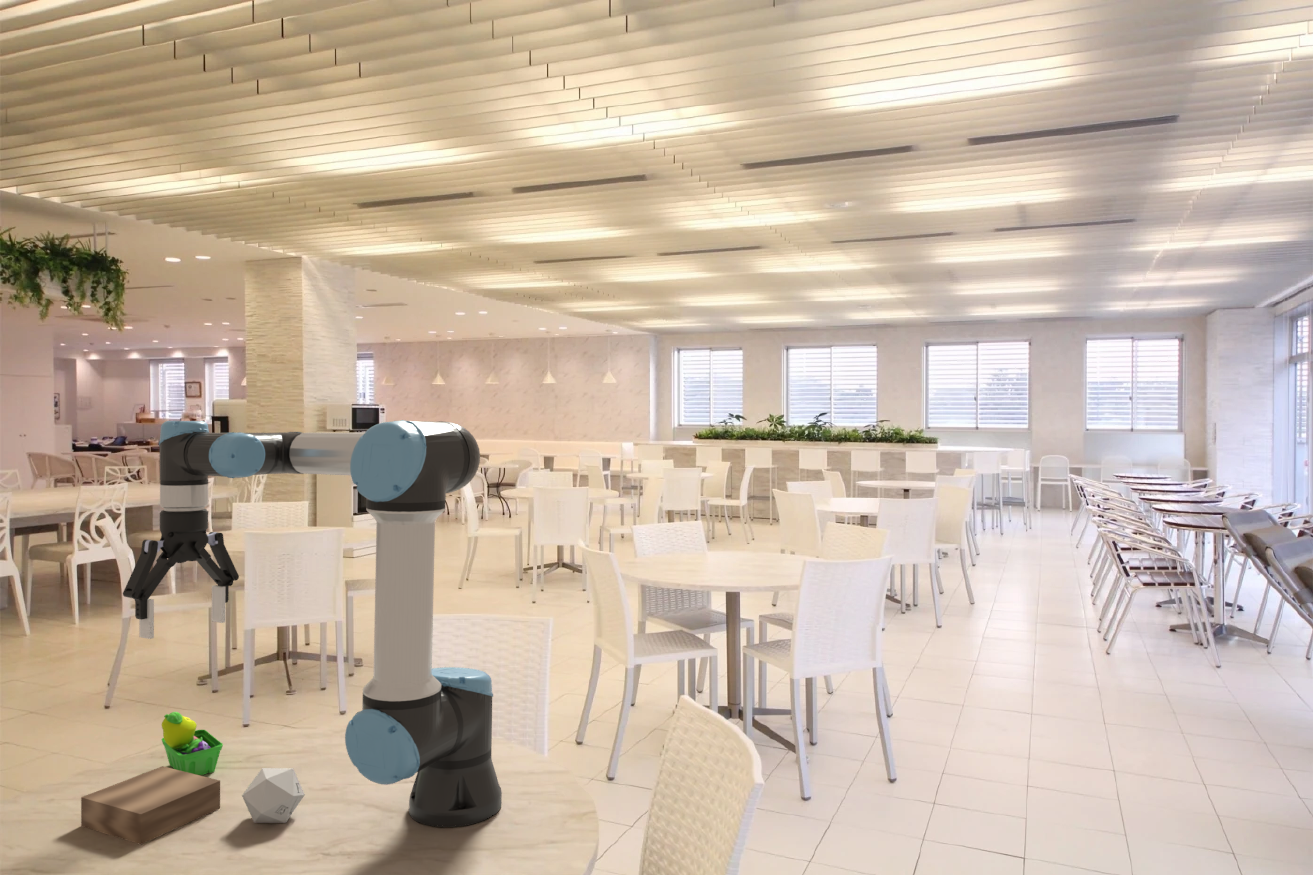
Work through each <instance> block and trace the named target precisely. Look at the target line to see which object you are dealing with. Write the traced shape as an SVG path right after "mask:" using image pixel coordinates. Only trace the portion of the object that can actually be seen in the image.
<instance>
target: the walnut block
mask: <svg viewBox="0 0 1313 875" xmlns="http://www.w3.org/2000/svg"><path fill="white" fill-rule="evenodd" d="M80 804H81V805H80V808H81V810H80V814H81V815H80V816H81V818H80V823H81V824H80V826H81V827H83V828H86V829H89V830H93V831H96V832H100V833H102V834H106V835H109V836H112V837H114V838H118V839H121V840H124V841H125V840H126V841H129V842H132V843H134V844H138V845H143V844H145V843H147V842H150V841H151V840H154V839H156V838H158V837H160V836H162V835H165V834H167V833H170V832H171V831H174V830H176V829H178V828H181V827H183V826H184V825H186V824H188V823H191V822H193V821H195V820H197V819H199V818H202V817H204V816H206V815H208V814H211V813H213V812H216V811H217V810H219V809H221V780H219V779H215V778H212V777H207V776H203V775H196V774H192V773H188V772H184V771H180V770H176V769H174V768H173V767H169V766H164V765H163V766H160V767H157V768H154V769H152V770H149V771H146V772H144V773H142V774H138V775H136V776H133V777H131V778H128V779H125V780H123V781H120V782H118V783H115V784H112V785H110V786H107V787H105V788H101V789H98V790H97V791H94V792H92V793H91V792H90V793H88V794H87V795H84V796H81V798H80Z"/></svg>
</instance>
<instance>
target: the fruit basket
mask: <svg viewBox="0 0 1313 875" xmlns="http://www.w3.org/2000/svg"><path fill="white" fill-rule="evenodd" d="M197 725H198V724H197V722H196V721H194V720H193V719H191V718H190V717H187V716H184V715H182V714H181V713H180V712H178V711H172V712H170V713H169V714H168V713H166V714H164V719H163V720H162V722H161V729H162V734H163V737H162V738H161V742H162V744H163V746H164V749H165V753H166V756H167V760H168V761H167V762H168V763H169V764H168V765H169V766H170V768H172V769H176V770H180V771H184V772H188V773H192V774H196V775H200V776H203V775H207V774H209V773H211V774H212V773H214V772H215V771H216V768H217V763H218V760H219V758H220V757H219V756H220V754H221V751H222V749H223V745H224V744H223V742H221V741H220V740H218V739H217V738H216V737H215V736H214V735H212V734H211V733H210V732H208V730H206V729H197V727H198V726H197Z"/></svg>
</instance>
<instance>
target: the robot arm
mask: <svg viewBox="0 0 1313 875" xmlns="http://www.w3.org/2000/svg"><path fill="white" fill-rule="evenodd" d="M209 430H210V429H209V424H208V423H207V422H206V421H203V420H200V421H199V420H165V421H164V422H162V424H161V426H160V436H159V442H158V447H159V448H158V449H159V507H160V508H162V509H163V510H161V511H160V512H159V531H160V533H161V536H160V539H159V540H151V539H144V540H143V541H142V542H141V543H142V544H141V551H140V555H139V556H138V558H137V562H136V564H135V565H134V567H133V570H132V572H131V575H130V576H129V579H128V581H127V583H126V586H125V587H124V590H123V592H122V596H123V597H125V598H129V599H133V600H134V606H135V608H134V611H135V618H136V620H139V622H138V624H139V625H138V626H139V627H138V628H139V631H138V632H139V634H138V635H139V638H143V639H147V640H148V639H149V640H151V639H154V638H155V631H154V630H155V599H152V598H150V597H151V596H152V595H153V593H154V591H155V590H156V588H158V586H159V585H160V584H161V582H162V580H163V579H164V578H165V577H166V575H167V574H168V572H169V570H170V569H171V568H172V567H174V566H175V565H176V564H184V563H186V562H195V561H196V562H197V563H198V564H199V565H200V567H201V568H202V569H203V570H204V571H205V572H206V574H208V576H209V577H210V578H211V579H212V581H213V582H214V583H216V584H215V585H211V622H214V623H221V624H222V623H223V624H224V623H226V604H227V603H228V602H229V598H230V597H229V588H230V587H232V585H233V584H234V581H238V579H239V578H240V577H239V576H240V575H239V573H238V571H237V568H236V567H235V565H234V562H233V561H232V559H231V555H230V554H229V552H228V550H227V547H226V546H225V542H224V541H225V540H224V534H223V533H222V532H219V531H218V532H217V531H211V532H209V533H208V534H207V530H208V528H209V510H208V509H207V508H206V507H208V505H209V477H223V478H228V479H236V478H237V479H238V478H249V477H251V476H258V475H259V476H260V475H269V474H270V475H276V474H279V475H280V474H281V475H282V474H291V475H293V474H294V475H307V474H308V475H329V476H331V475H332V476H333V475H334V476H350V478H351V481H352V483H353V484H354V485H355V486H356V490H357V492H358V493H359V494H360V495H361V496H362V497H364V498H366V503H365V504H366V506H365V508H366V511H367V512H368V513H369V515H370V516H371V517H373V518H374V520H375V521H376V529H375V530H376V534H375V535H376V538H375V540H376V541H375V583H374V584H375V586H374V587H375V588H374V590H375V591H374V631H373V632H374V634H373V635H374V637H373V638H374V639H373V642H374V643H373V676H372V678H371V679H370V680H369V681H368V682H367V683H366V684H365V685H364V687H363V688H362V706H361V708H362V709H361V710H360V711H358V712H356V713H355V714H354V715H353V717H352V719H351V720H349V721H348V723H347V725H346V727H345V733H344V735H345V736H344V741H345V742H344V743H345V749H346V752H347V755H348V757H349V759H350V761H351V764H352V765H353V766H354V767H355V768H356V769H357V771H358V772H359V773H360V774H361V776H363V777H364V778H366V779H367V780H368V781H370V782H373V783H375V784H378V785H385V786H386V785H393V784H396V783H398V782H401V781H403V780H407V779H410V778H413V776H415V779H414V782H413V786H412V789H411V791H410V794H409V800H408V812H409V813H408V814H409V816H410V818H412V819H413V820H414V821H415V822H418V823H419V824H423V825H425V826H430V827H437V828H454V827H456V828H457V827H464V826H468V825H469V826H470V825H474V824H477V823H480V822H484V821H485V820H487V818H488V819H490V818H491V817H493V816H494V815H496V814H497V813H498V812H499V811H500V810H501V807H502V805H503V804H502V802H503V801H502V793H503V792H502V787H501V785H500V783H499V780H498V776H497V772H496V770H495V769H496V768H495V766H494V764H493V763H494V762H493V759H492V745H493V744H492V740H493V738H492V735H493V697H494V693H493V684H492V677H491V676H490V675H489V673H487V672H486V671H483V670H480V669H476V668H468V667H457V666H455V667H453V666H449V667H446V666H445V667H434V668H433V633H434V632H433V630H434V629H433V626H434V623H433V621H434V589H435V587H434V585H435V584H434V583H435V582H434V581H435V580H434V579H435V574H434V573H435V538H436V537H435V536H436V535H435V533H436V521H437V519H438V518H439V517H440V516H441V515H442V514H443V513H444V512H445V511H446V499H447V498H446V496H447V495H446V494H449V493H454V492H457V491H458V490H461V489H463V488H465V487H467V485H468V484H469V483H470V482H471V481H472V480H473V479H474V478H475V477H476V474H477V472H478V470H479V466H480V463H481V453H480V448H479V445H478V442H477V439H476V438H475V436H474V435H473V434H472V433H471V432H470V431H469V430H468V429H466V428H465V427H464V426H462V425H460V424H457V423H454V422H450V421H442V420H440V421H430V420H429V421H427V420H424V421H423V420H422V421H421V420H406V419H405V420H404V419H401V420H393V421H385V422H380V423H377V424H375V425H373V426H371V427H369V428H368V429H367V430H366V431H365V432H301V431H287V432H240V431H239V432H234V431H233V432H210V431H209ZM207 545H208V546H209V547H210V551H211V552H212V554H213V556H214V559H215V560H216V562H215V560H214V559H212V556H211V554H210V552H208V551H207V549H206V546H207ZM160 551H162V552H161V554H160V555H159V556H158V557H157V554H158V553H159V552H160ZM156 558H157V559H156ZM155 560H156V563H155V564H154V562H155ZM153 565H154V566H153ZM415 774H416V775H415ZM492 815H493V816H492ZM490 816H491V817H490ZM489 817H490V818H489Z"/></svg>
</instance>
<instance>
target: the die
mask: <svg viewBox="0 0 1313 875" xmlns="http://www.w3.org/2000/svg"><path fill="white" fill-rule="evenodd" d="M305 795H306V794H305V792H304V789H303V788H302V785H301V783H300V780H299V778H298V776H297V774H296V771H295V769H294V768H293V767H291V768H290V767H288V768H287V767H282V768H281V767H261V769H260V770H259V772H258V773H257V775H255V777H254V778H253V780H252V781H251V782H250V784H249V785H248V787H247V788H246V789H245V790H244V792H243V793H242V795H241V796H242V799H243V801H244V803H245V806H246V808H247V810H248V813H249V814H250V817H251V819H252V822H253V823H255V824H256V823H261V824H263V823H264V824H265V823H270V824H273V823H276V824H278V823H279V824H282V823H283V824H286V823H287V822H288V821H289V819H290V817H291V816H292V815H293V813H294V811H295V810H296V808H297V807H298V805H300V802H301V801H302V800H303V798H304V796H305Z"/></svg>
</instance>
